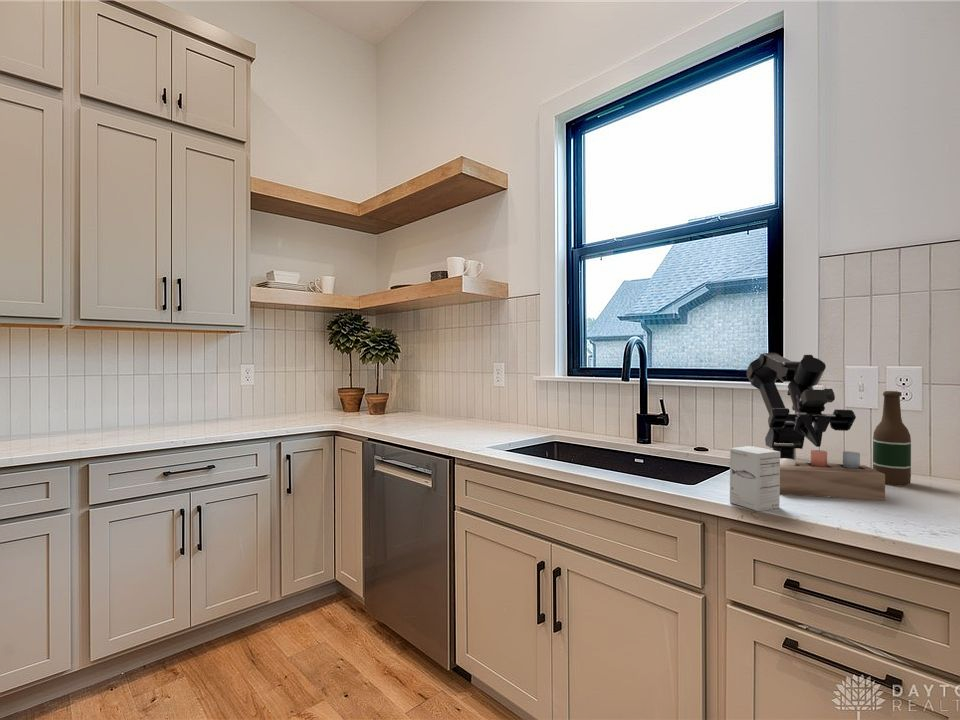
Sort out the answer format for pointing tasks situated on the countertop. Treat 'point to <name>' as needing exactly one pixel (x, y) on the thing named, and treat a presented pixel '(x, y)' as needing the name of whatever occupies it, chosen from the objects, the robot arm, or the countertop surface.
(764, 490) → the supplement box
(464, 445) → the countertop surface
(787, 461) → the white key
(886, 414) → the beer bottle
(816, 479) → the wooden socket block
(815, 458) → the brick key
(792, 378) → the robot arm
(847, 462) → the grey rounded block
